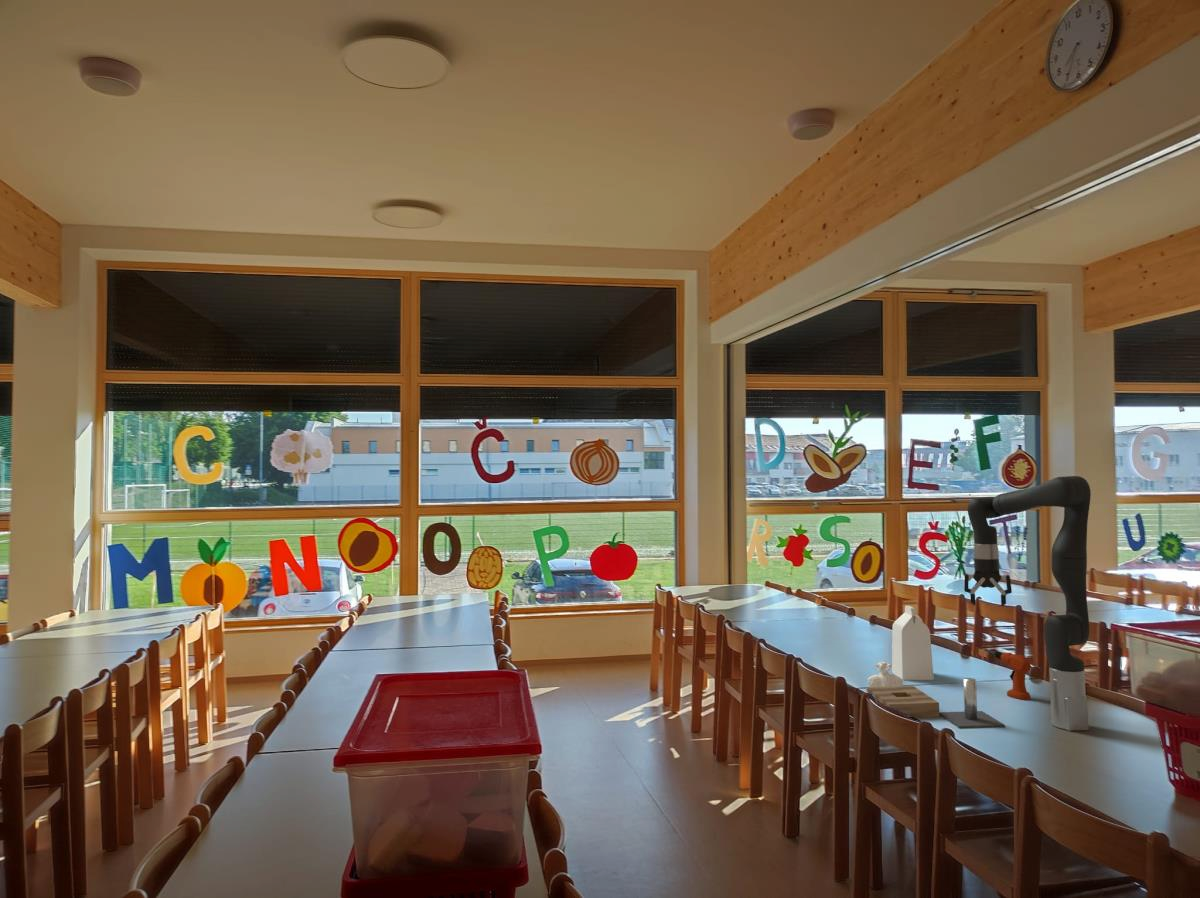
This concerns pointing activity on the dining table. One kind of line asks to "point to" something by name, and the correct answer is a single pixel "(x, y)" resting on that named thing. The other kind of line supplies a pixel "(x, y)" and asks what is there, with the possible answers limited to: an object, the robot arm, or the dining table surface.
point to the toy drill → (1015, 673)
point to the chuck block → (906, 700)
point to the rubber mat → (981, 721)
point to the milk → (911, 647)
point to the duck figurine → (884, 677)
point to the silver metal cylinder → (970, 698)
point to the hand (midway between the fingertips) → (988, 605)
